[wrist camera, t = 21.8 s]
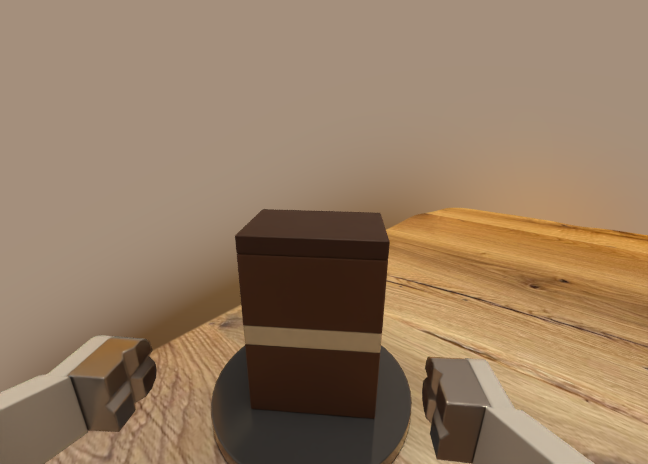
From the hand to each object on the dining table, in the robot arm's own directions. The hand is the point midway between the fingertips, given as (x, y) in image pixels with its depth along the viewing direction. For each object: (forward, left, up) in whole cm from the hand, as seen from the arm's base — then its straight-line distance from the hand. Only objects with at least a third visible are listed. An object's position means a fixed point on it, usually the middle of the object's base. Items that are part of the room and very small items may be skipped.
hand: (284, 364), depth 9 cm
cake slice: (+3, +5, -6) cm, 9 cm away
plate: (+2, +5, -7) cm, 9 cm away
